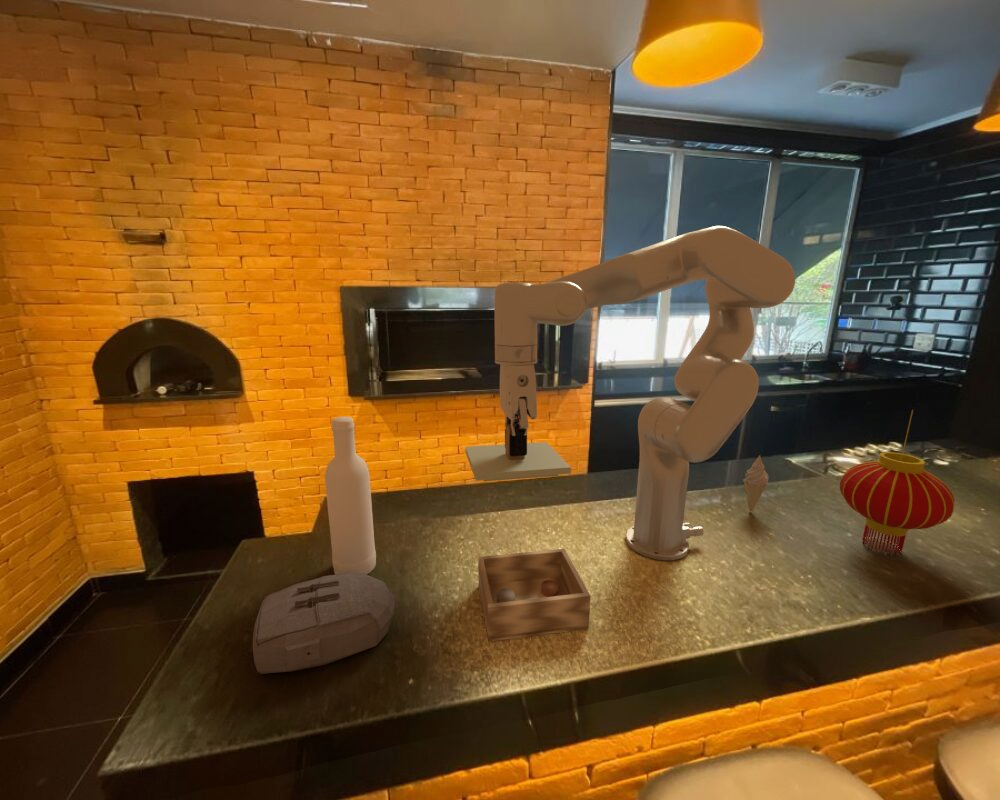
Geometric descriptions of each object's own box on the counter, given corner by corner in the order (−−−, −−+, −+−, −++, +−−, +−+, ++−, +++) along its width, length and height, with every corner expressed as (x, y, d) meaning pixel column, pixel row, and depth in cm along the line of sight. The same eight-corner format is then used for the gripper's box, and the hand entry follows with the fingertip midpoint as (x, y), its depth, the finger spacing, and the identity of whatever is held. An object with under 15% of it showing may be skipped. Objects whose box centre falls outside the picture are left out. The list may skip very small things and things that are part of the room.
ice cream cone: (767, 517, 101) (776, 458, 98) (745, 517, 101) (754, 458, 98) (755, 507, 106) (763, 451, 103) (734, 507, 106) (742, 451, 103)
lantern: (847, 519, 101) (873, 396, 94) (950, 555, 86) (989, 413, 80) (815, 540, 92) (841, 406, 85) (924, 584, 78) (965, 427, 71)
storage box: (563, 577, 79) (564, 548, 78) (588, 628, 67) (590, 595, 66) (478, 586, 77) (478, 557, 76) (488, 641, 64) (488, 607, 63)
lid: (546, 452, 89) (547, 414, 87) (570, 478, 75) (572, 434, 74) (465, 457, 85) (465, 417, 83) (475, 486, 72) (475, 440, 70)
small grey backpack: (248, 697, 56) (402, 653, 63) (239, 643, 54) (399, 604, 61) (265, 618, 69) (390, 590, 76) (259, 573, 68) (388, 548, 74)
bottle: (332, 560, 84) (318, 415, 78) (373, 551, 87) (363, 411, 81) (334, 585, 77) (318, 427, 70) (379, 574, 80) (367, 422, 73)
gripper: (550, 359, 68) (548, 466, 73) (524, 348, 84) (523, 437, 88) (505, 361, 67) (505, 470, 71) (487, 350, 83) (488, 439, 87)
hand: (515, 451), depth 80 cm, fingers closed on lid, 3 cm apart
